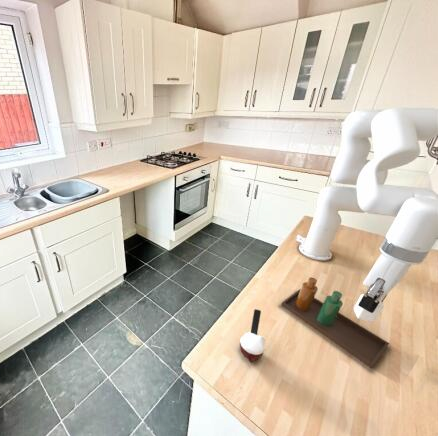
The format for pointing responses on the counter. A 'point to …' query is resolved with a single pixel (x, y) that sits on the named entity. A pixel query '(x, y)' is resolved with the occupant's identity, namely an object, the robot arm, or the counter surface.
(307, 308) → the amber bottle
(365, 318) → the salt shaker
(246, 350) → the cocoa
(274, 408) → the counter surface
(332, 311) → the green bottle
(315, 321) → the tray
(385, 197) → the robot arm
